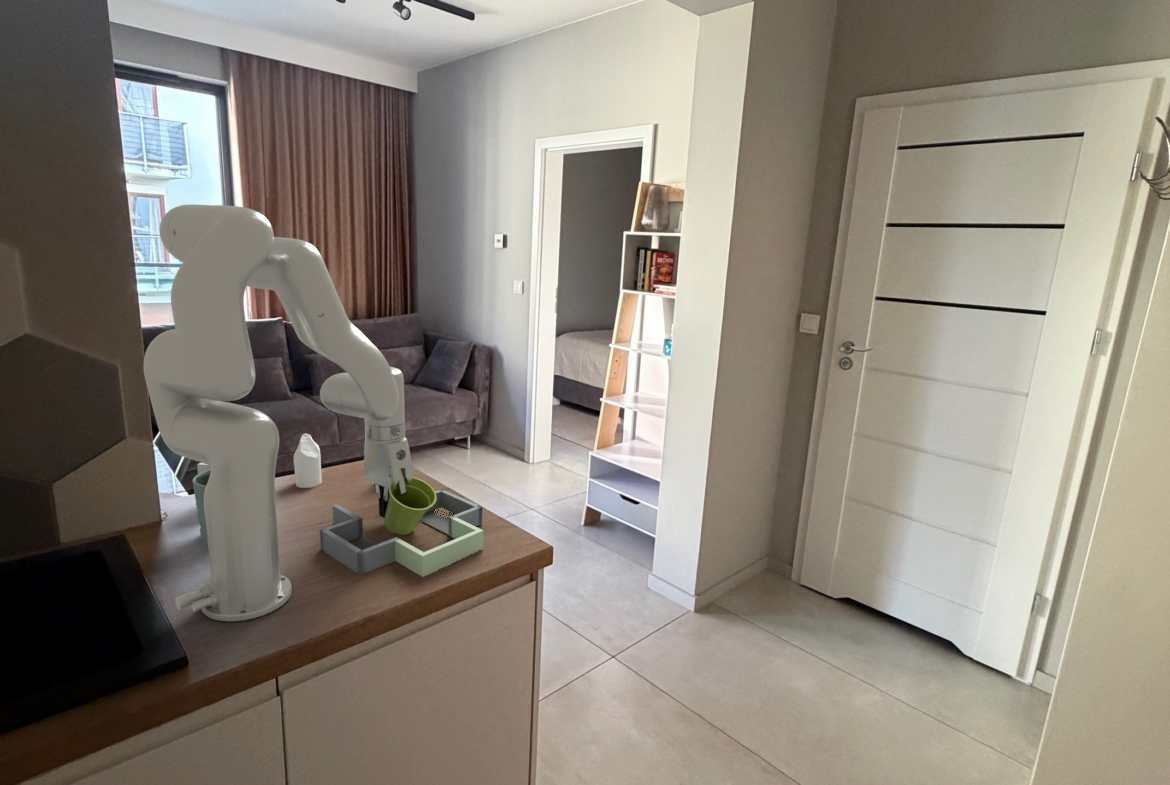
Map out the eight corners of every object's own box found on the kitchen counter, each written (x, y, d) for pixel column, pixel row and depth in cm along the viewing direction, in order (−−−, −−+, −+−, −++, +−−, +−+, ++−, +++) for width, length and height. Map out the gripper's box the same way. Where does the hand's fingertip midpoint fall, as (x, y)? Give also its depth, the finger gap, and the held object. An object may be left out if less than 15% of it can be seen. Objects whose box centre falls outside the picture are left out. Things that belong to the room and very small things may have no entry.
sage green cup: (192, 532, 117) (187, 473, 115) (250, 519, 124) (246, 463, 121) (205, 553, 110) (199, 491, 107) (266, 538, 117) (262, 479, 114)
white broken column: (308, 439, 137) (286, 436, 138) (310, 489, 140) (289, 486, 141) (325, 432, 143) (304, 429, 144) (327, 480, 146) (306, 477, 147)
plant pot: (431, 533, 125) (446, 501, 122) (394, 548, 117) (409, 514, 114) (403, 503, 129) (417, 471, 125) (365, 516, 121) (379, 482, 117)
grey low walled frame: (387, 593, 102) (387, 571, 101) (299, 535, 119) (298, 516, 118) (509, 537, 123) (509, 519, 122) (419, 495, 140) (419, 478, 139)
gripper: (425, 434, 120) (426, 520, 124) (379, 417, 128) (382, 498, 133) (392, 443, 114) (395, 533, 118) (346, 425, 122) (350, 510, 127)
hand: (388, 515), depth 126 cm, fingers closed
